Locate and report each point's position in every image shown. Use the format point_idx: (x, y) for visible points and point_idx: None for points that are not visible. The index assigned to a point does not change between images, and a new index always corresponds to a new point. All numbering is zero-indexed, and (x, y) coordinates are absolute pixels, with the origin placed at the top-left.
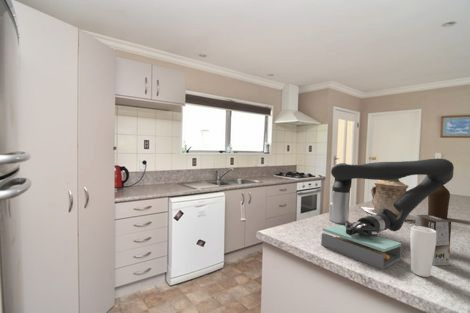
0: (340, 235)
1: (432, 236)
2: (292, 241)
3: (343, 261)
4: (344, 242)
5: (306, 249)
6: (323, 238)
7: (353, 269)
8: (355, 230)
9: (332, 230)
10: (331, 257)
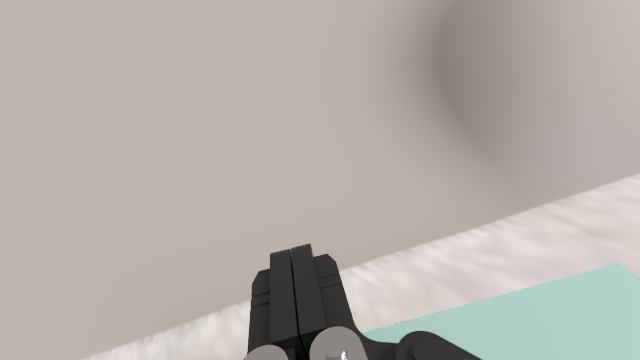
0: (416, 324)
1: None
2: (583, 229)
3: None
4: None
5: (465, 245)
6: None
7: (227, 318)
8: (250, 325)
9: (561, 319)
10: (357, 302)
